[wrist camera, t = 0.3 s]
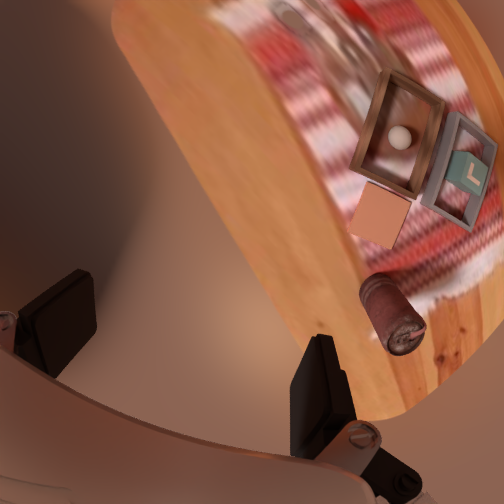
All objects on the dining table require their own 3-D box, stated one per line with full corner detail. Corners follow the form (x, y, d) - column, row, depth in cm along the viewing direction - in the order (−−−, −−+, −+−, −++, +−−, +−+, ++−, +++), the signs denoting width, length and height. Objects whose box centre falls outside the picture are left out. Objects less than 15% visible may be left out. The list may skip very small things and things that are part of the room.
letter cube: (451, 150, 33) (469, 151, 28) (470, 164, 33) (488, 167, 28) (443, 178, 35) (460, 181, 30) (462, 191, 35) (480, 196, 30)
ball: (388, 122, 33) (397, 120, 30) (407, 133, 33) (418, 132, 30) (381, 143, 34) (390, 142, 31) (401, 153, 34) (411, 154, 31)
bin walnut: (380, 72, 31) (387, 67, 28) (435, 104, 31) (445, 102, 28) (348, 169, 36) (354, 170, 33) (407, 196, 37) (415, 200, 34)
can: (398, 289, 42) (434, 337, 29) (369, 311, 43) (395, 365, 30) (383, 264, 40) (419, 309, 27) (351, 287, 42) (376, 340, 29)
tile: (366, 181, 37) (367, 181, 36) (409, 202, 37) (411, 202, 36) (346, 231, 39) (347, 232, 39) (390, 249, 39) (391, 249, 39)
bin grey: (447, 112, 31) (457, 111, 28) (487, 144, 31) (497, 144, 28) (419, 203, 37) (428, 207, 34) (461, 227, 37) (471, 232, 34)
